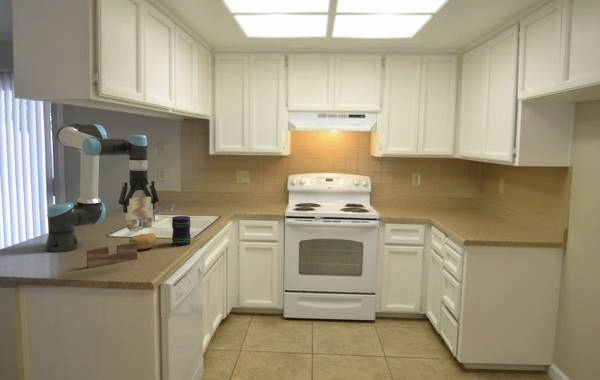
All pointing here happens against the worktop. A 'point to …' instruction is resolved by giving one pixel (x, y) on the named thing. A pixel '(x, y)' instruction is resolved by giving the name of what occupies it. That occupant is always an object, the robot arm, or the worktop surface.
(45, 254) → the worktop surface
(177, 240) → the storage jar
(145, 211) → the birch plate
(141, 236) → the potato
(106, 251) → the walnut board
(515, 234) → the worktop surface
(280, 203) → the worktop surface
